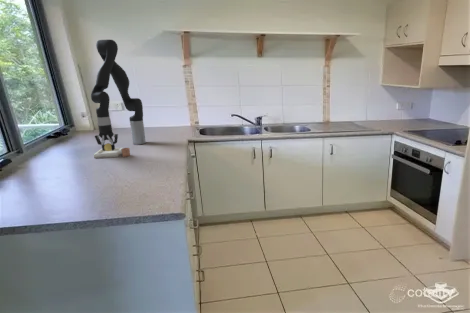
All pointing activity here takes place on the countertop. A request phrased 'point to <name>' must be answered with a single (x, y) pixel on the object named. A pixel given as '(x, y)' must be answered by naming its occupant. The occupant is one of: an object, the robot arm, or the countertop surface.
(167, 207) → the countertop surface
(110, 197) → the countertop surface
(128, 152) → the cup
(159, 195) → the countertop surface
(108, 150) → the ball
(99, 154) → the tray
